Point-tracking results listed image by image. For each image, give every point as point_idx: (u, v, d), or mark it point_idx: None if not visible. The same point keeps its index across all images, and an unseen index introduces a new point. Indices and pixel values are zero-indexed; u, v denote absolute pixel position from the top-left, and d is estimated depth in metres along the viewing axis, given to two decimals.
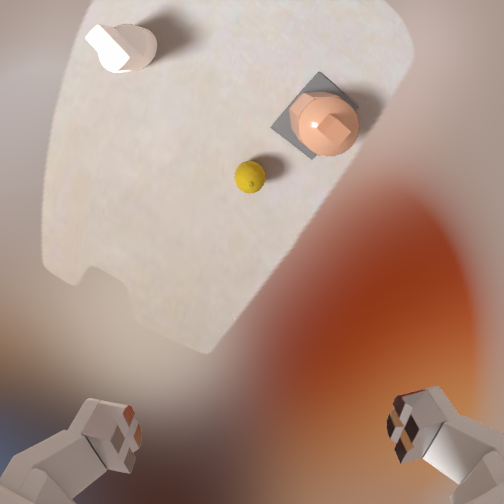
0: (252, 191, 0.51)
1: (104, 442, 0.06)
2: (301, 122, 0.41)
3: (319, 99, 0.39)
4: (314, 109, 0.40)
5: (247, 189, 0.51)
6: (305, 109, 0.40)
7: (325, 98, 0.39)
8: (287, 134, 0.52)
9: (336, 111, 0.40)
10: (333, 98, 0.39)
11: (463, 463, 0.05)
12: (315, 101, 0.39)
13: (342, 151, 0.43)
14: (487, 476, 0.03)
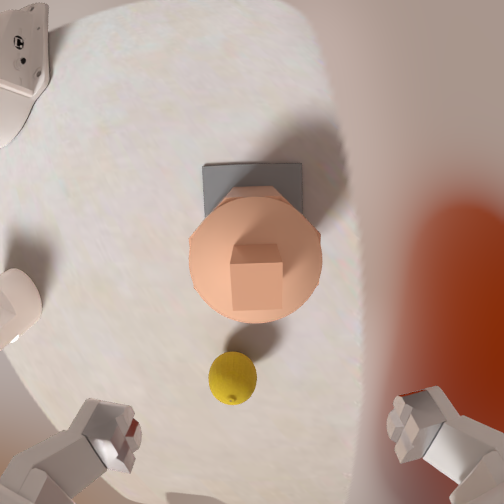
0: (244, 400, 0.30)
1: (105, 442, 0.06)
2: (205, 295, 0.22)
3: (196, 235, 0.21)
4: (204, 259, 0.21)
5: (234, 403, 0.29)
6: (192, 270, 0.21)
7: (204, 225, 0.20)
8: None
9: (242, 229, 0.20)
10: (216, 212, 0.20)
11: (463, 463, 0.05)
12: (193, 244, 0.21)
13: (313, 283, 0.22)
14: (487, 476, 0.03)
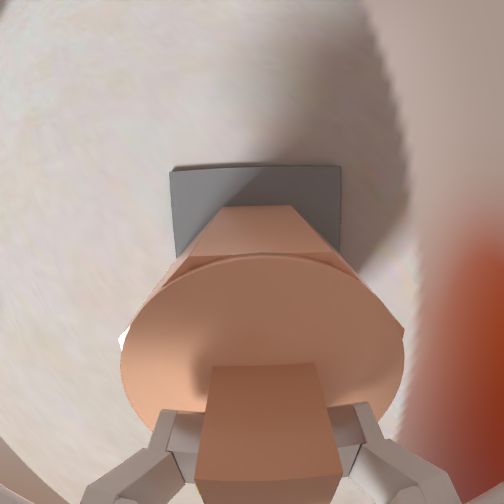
0: None
1: (195, 455, 0.06)
2: None
3: (129, 342, 0.08)
4: (153, 385, 0.09)
5: None
6: (133, 399, 0.09)
7: (141, 322, 0.08)
8: None
9: (232, 335, 0.08)
10: (166, 297, 0.08)
11: (387, 491, 0.05)
12: (126, 358, 0.08)
13: (376, 416, 0.09)
14: None
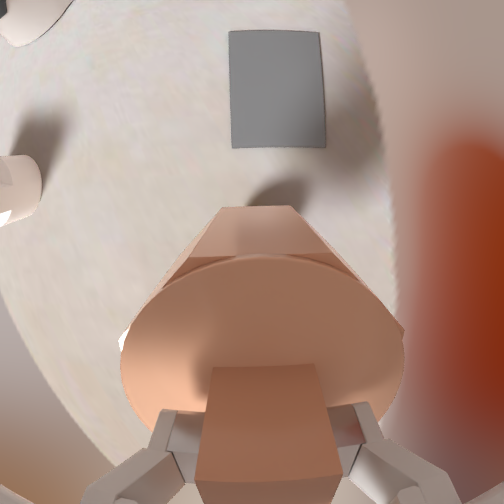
0: None
1: (196, 455, 0.06)
2: None
3: (129, 343, 0.08)
4: (153, 386, 0.09)
5: None
6: (133, 400, 0.09)
7: (141, 323, 0.08)
8: (261, 137, 0.30)
9: (232, 336, 0.08)
10: (166, 298, 0.08)
11: (387, 491, 0.05)
12: (126, 359, 0.08)
13: (376, 417, 0.09)
14: None
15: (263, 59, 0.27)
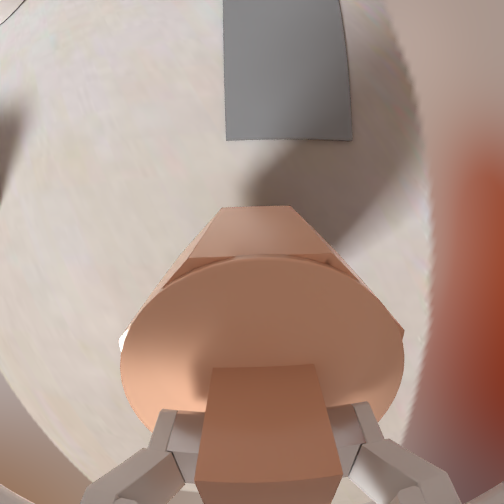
0: None
1: (196, 455, 0.06)
2: None
3: (129, 343, 0.08)
4: (153, 386, 0.09)
5: None
6: (133, 400, 0.09)
7: (141, 323, 0.08)
8: (267, 126, 0.21)
9: (231, 336, 0.08)
10: (165, 298, 0.08)
11: (387, 491, 0.05)
12: (126, 360, 0.08)
13: (376, 417, 0.09)
14: None
15: (268, 25, 0.19)
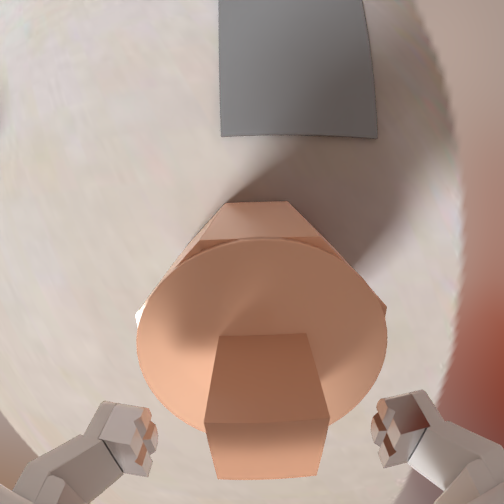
0: None
1: (123, 446, 0.06)
2: (174, 407, 0.11)
3: (146, 315, 0.10)
4: (165, 356, 0.10)
5: None
6: (146, 371, 0.11)
7: (158, 297, 0.10)
8: (273, 118, 0.17)
9: (235, 307, 0.10)
10: (180, 274, 0.09)
11: (448, 470, 0.05)
12: (142, 331, 0.10)
13: (365, 388, 0.11)
14: (470, 485, 0.03)
15: None
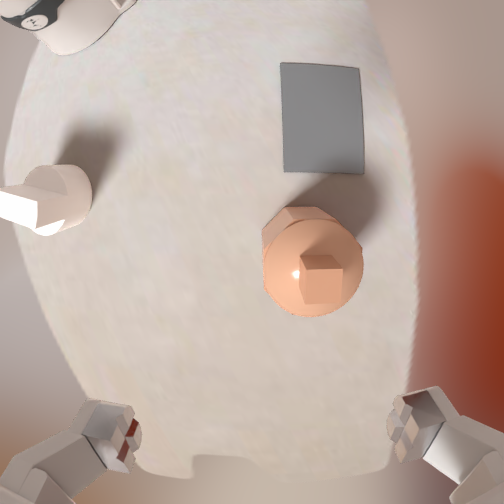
0: None
1: (105, 442, 0.06)
2: (274, 294, 0.28)
3: (271, 247, 0.27)
4: (276, 266, 0.27)
5: None
6: (265, 275, 0.28)
7: (278, 239, 0.27)
8: (310, 164, 0.34)
9: (306, 243, 0.27)
10: (288, 230, 0.26)
11: (463, 463, 0.05)
12: (268, 255, 0.27)
13: (356, 285, 0.28)
14: (487, 476, 0.03)
15: (311, 92, 0.32)
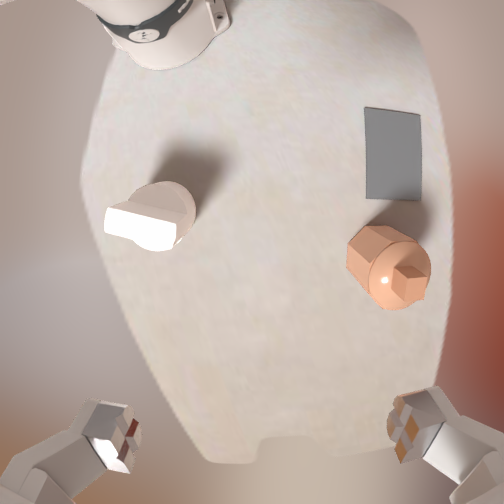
0: None
1: (104, 442, 0.06)
2: (374, 295, 0.36)
3: (376, 262, 0.35)
4: (378, 275, 0.35)
5: None
6: (370, 281, 0.36)
7: (381, 256, 0.35)
8: (385, 192, 0.42)
9: (398, 258, 0.35)
10: (388, 249, 0.34)
11: (463, 463, 0.05)
12: (374, 267, 0.35)
13: (425, 286, 0.36)
14: (487, 476, 0.03)
15: (387, 134, 0.39)
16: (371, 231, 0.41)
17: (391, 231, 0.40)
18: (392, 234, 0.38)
